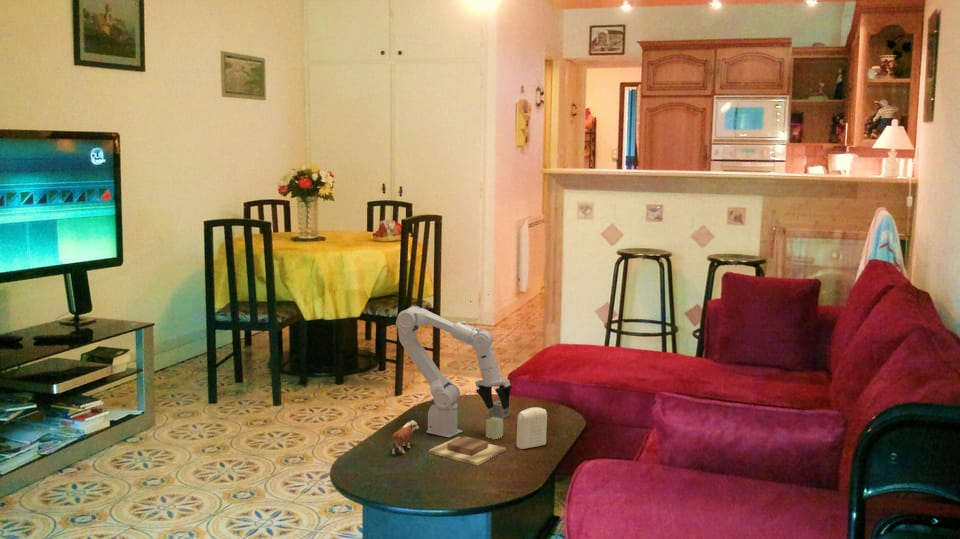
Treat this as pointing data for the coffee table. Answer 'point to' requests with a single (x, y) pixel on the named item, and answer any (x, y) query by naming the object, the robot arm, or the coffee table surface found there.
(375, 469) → the coffee table surface
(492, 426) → the sage block
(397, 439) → the bull figurine
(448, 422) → the robot arm
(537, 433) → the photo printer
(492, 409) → the dice cube
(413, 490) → the coffee table surface
